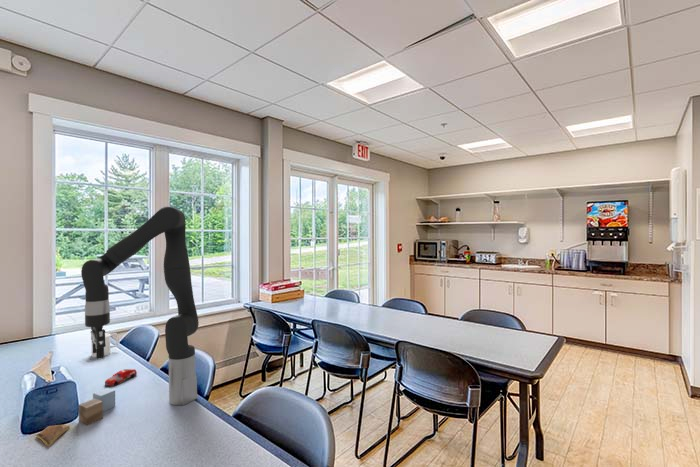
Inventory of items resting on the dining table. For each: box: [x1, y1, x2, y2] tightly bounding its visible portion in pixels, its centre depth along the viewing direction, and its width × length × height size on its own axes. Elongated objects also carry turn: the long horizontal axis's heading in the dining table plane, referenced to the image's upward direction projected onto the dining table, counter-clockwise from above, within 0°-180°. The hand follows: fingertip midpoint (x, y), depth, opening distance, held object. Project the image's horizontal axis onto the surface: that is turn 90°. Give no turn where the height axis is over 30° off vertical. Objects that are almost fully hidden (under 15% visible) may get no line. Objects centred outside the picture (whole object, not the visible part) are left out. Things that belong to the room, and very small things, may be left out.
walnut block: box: [78, 398, 104, 426], centre depth 121 cm, size 5×5×6 cm
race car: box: [104, 368, 138, 387], centre depth 153 cm, size 13×5×4 cm, turn 161°
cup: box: [90, 332, 119, 358], centre depth 187 cm, size 8×12×10 cm
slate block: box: [92, 387, 116, 412], centre depth 130 cm, size 5×5×6 cm
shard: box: [35, 424, 71, 447], centre depth 111 cm, size 11×8×2 cm
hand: (98, 355), depth 130 cm, fingers open, 8 cm apart
